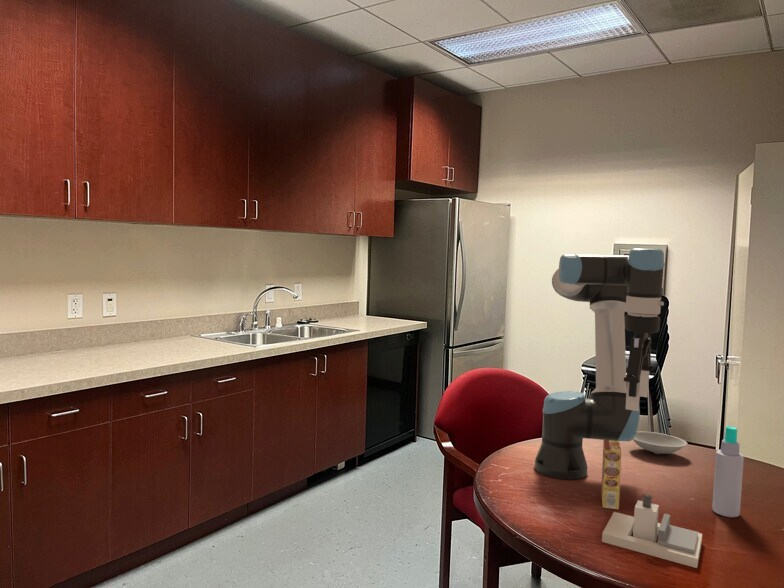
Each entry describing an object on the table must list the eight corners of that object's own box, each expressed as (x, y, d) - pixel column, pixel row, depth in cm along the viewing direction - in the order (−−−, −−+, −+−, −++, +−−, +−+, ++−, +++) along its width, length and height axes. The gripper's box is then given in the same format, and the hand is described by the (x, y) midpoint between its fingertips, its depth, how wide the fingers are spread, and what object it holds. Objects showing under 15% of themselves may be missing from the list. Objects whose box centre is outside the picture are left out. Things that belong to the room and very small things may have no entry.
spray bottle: (711, 513, 144) (716, 428, 143) (713, 505, 149) (718, 422, 148) (738, 520, 141) (745, 433, 139) (740, 511, 146) (746, 427, 144)
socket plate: (601, 541, 128) (602, 533, 128) (613, 519, 139) (614, 511, 139) (697, 568, 118) (697, 558, 118) (701, 542, 129) (702, 533, 129)
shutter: (657, 544, 124) (658, 529, 124) (663, 526, 132) (664, 513, 132) (694, 553, 120) (695, 539, 120) (697, 535, 128) (698, 521, 128)
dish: (624, 454, 187) (624, 439, 186) (632, 442, 199) (632, 428, 199) (684, 465, 177) (685, 450, 177) (688, 452, 190) (689, 438, 189)
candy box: (619, 510, 145) (622, 451, 144) (601, 508, 146) (604, 449, 145) (616, 496, 153) (619, 440, 152) (600, 494, 154) (603, 438, 153)
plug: (632, 541, 129) (635, 496, 128) (636, 533, 133) (638, 490, 132) (653, 547, 127) (656, 501, 126) (656, 539, 130) (659, 494, 130)
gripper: (652, 322, 121) (646, 419, 123) (666, 310, 142) (661, 393, 145) (615, 319, 125) (609, 413, 127) (634, 308, 146) (629, 388, 148)
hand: (637, 402), depth 136 cm, fingers open, 13 cm apart
